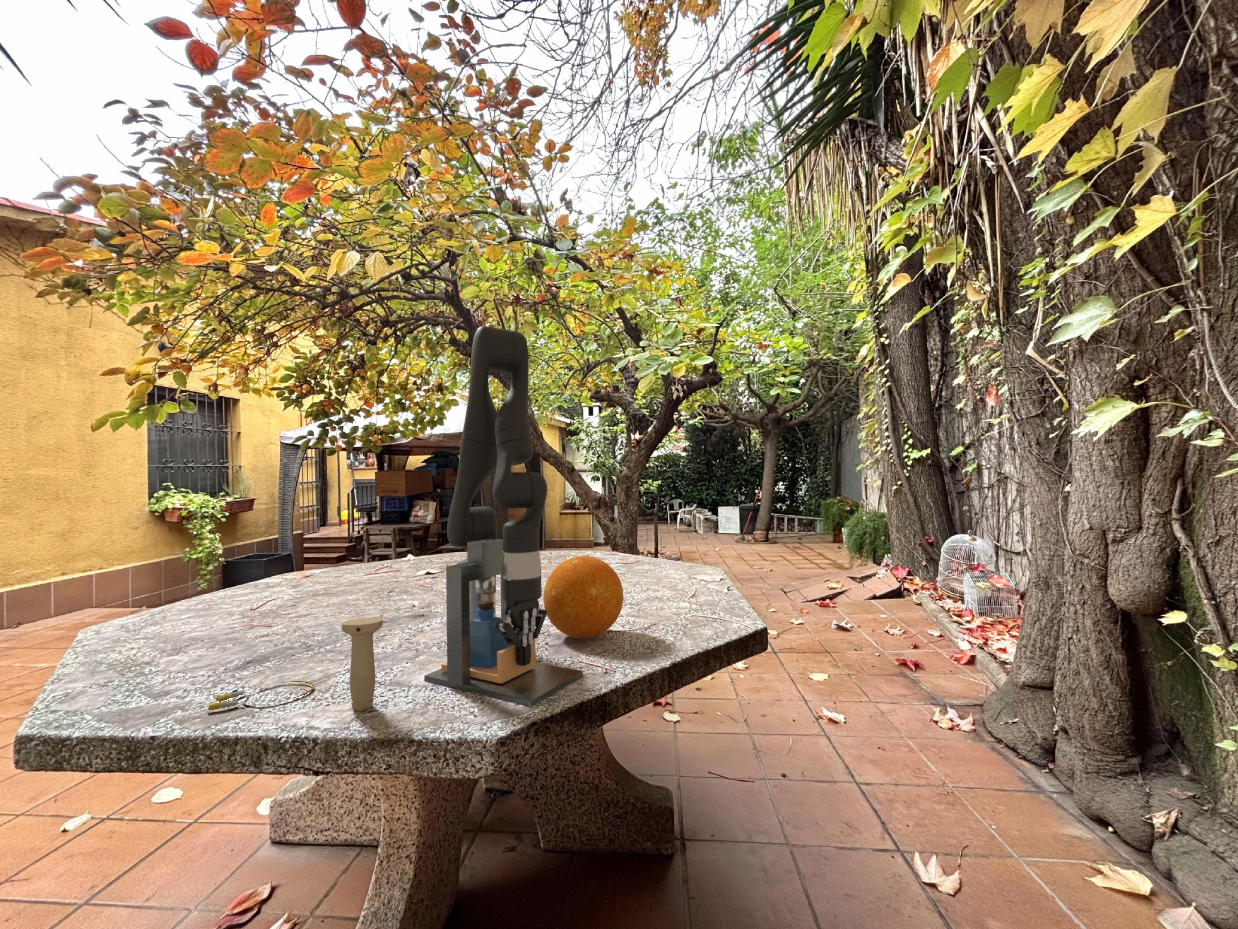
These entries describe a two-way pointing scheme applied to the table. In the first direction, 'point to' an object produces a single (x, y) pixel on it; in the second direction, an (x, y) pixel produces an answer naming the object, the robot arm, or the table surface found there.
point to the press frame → (483, 569)
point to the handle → (362, 660)
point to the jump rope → (233, 703)
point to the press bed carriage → (502, 666)
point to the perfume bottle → (485, 637)
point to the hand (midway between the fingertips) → (523, 664)
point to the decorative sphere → (583, 597)
